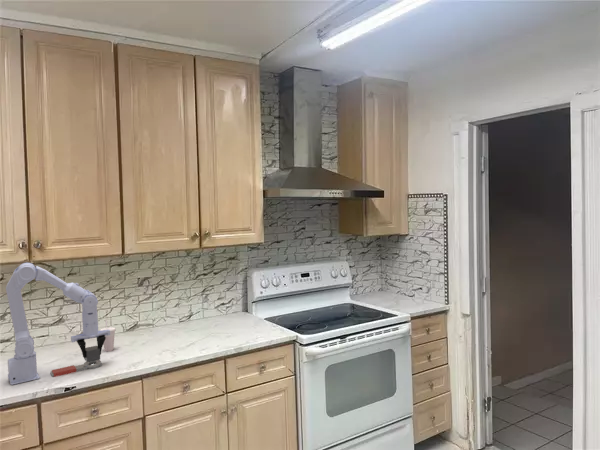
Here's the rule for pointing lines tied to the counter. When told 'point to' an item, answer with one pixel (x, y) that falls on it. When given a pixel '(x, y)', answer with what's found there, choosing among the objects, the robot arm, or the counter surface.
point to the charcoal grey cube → (92, 353)
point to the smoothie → (109, 338)
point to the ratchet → (76, 368)
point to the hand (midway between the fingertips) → (91, 355)
